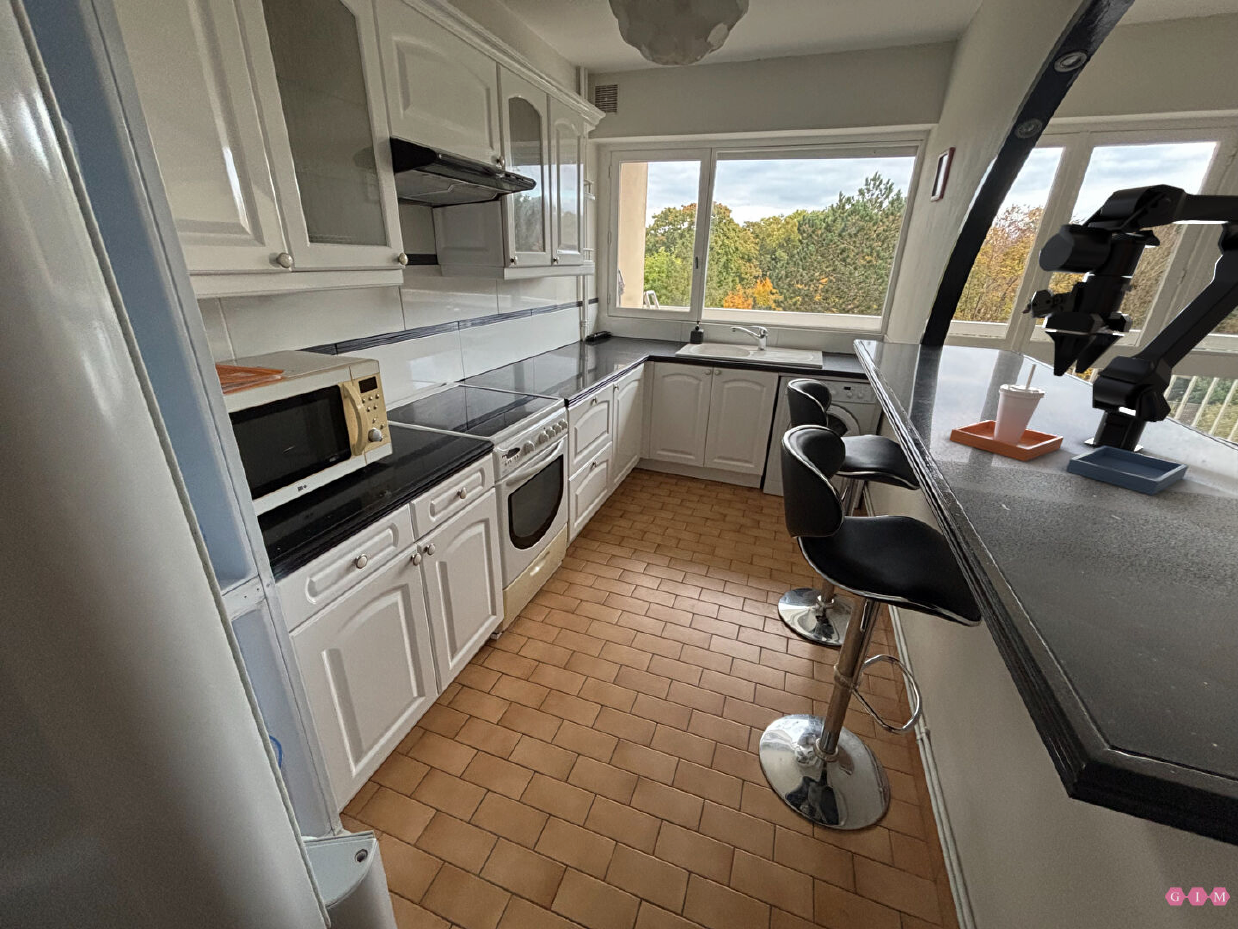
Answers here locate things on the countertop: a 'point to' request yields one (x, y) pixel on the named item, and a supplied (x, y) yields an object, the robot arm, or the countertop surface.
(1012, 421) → the smoothie
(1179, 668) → the countertop surface
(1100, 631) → the countertop surface
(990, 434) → the orange tray
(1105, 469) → the blue tray
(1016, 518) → the countertop surface
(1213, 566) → the countertop surface
